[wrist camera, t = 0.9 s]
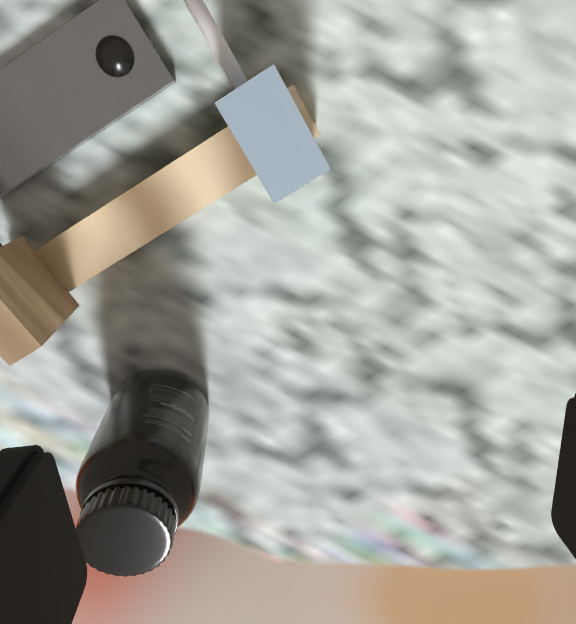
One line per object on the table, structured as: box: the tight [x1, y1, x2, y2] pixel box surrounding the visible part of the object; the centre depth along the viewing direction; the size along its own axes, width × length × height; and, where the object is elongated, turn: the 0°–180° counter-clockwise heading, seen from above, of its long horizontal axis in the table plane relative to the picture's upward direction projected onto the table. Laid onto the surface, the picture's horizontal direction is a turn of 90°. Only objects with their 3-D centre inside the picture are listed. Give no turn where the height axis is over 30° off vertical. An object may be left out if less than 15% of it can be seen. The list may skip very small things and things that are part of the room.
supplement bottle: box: [76, 370, 209, 577], centre depth 30 cm, size 7×7×12 cm
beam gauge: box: [0, 84, 320, 366], centre depth 26 cm, size 20×10×8 cm, turn 121°
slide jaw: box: [184, 0, 330, 203], centre depth 24 cm, size 3×10×6 cm, turn 31°
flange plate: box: [0, 0, 176, 198], centre depth 28 cm, size 15×5×1 cm, turn 121°
